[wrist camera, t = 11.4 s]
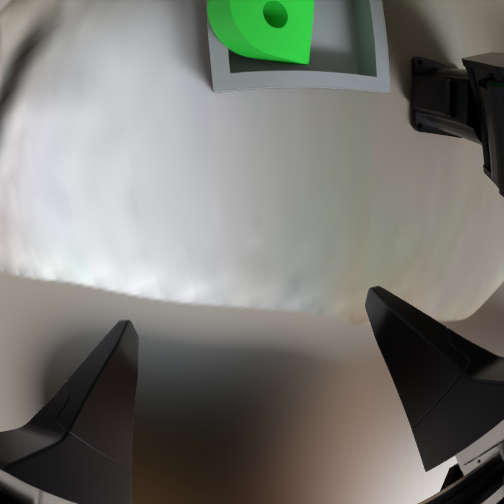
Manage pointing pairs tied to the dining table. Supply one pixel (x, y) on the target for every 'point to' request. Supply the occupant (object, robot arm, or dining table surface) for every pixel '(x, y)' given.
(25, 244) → the dining table surface
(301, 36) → the mechanical part
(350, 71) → the parts tray
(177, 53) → the dining table surface
